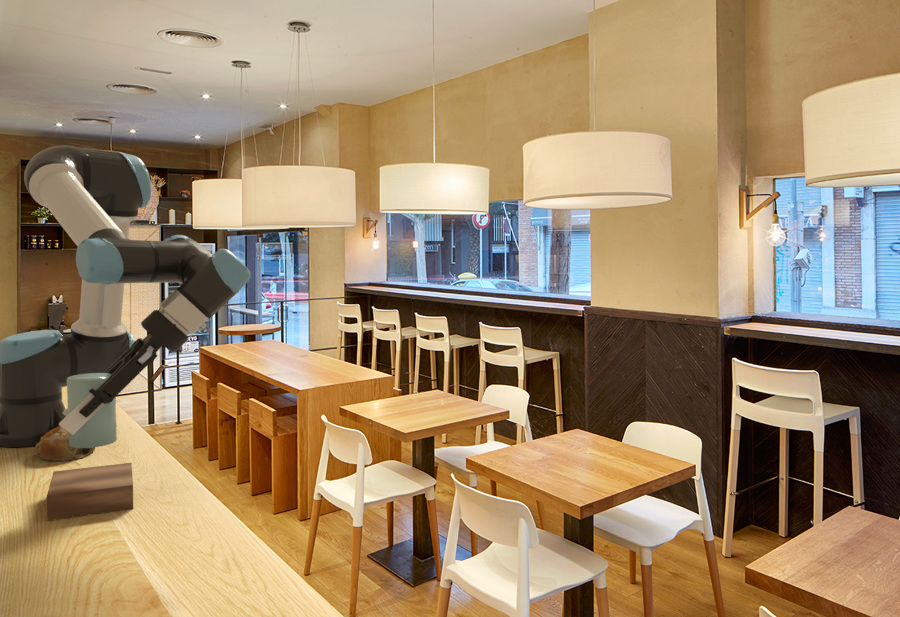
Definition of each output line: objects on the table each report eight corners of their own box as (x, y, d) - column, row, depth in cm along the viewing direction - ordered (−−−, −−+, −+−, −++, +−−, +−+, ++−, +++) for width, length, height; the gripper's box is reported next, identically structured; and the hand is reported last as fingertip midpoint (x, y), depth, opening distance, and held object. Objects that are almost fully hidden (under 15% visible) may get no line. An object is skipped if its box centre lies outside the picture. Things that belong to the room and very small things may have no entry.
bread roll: (60, 481, 125) (74, 447, 123) (19, 455, 126) (33, 421, 125) (97, 465, 134) (110, 433, 133) (59, 441, 136) (72, 409, 134)
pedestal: (54, 494, 109) (53, 471, 109) (131, 484, 115) (131, 462, 114) (47, 520, 98) (46, 496, 98) (133, 508, 104) (133, 484, 104)
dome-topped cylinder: (70, 438, 107) (68, 374, 106) (116, 434, 110) (115, 371, 109) (67, 450, 101) (65, 382, 100) (116, 445, 104) (115, 379, 103)
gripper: (196, 344, 102) (83, 454, 96) (185, 330, 120) (88, 422, 114) (160, 312, 99) (41, 424, 93) (154, 303, 117) (53, 396, 111)
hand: (67, 423), depth 103 cm, fingers closed on dome-topped cylinder, 7 cm apart
